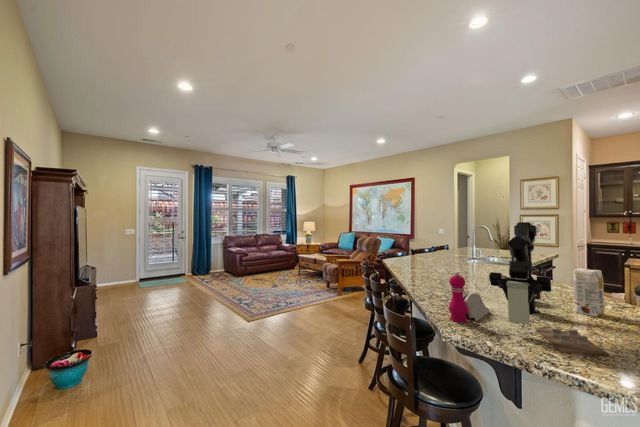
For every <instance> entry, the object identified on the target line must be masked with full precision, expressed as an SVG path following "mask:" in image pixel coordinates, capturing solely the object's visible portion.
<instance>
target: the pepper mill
mask: <svg viewBox="0 0 640 427" xmlns="http://www.w3.org/2000/svg"><path fill="white" fill-rule="evenodd" d="M448 281H449V282H448V283H449V285H450V291H451V294H452V295H451V300H450V302H449V304H448V311H449V312H450V314H449V317H450V320H451V321H453V322H456V323H466V322H467V321H468V318H467V316H465V315H466V314H467V313H468V308H467V305H466V303H465V301H464V298H463V296H464V292H465V287H464V286H465V285H466V281H465V278H464V277H463V276H461V275H460V272H458V271H455V272H454V275H452V276H451V277H450V278H449V280H448Z"/></svg>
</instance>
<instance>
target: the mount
mask: <svg viewBox="0 0 640 427" xmlns="http://www.w3.org/2000/svg"><path fill="white" fill-rule="evenodd" d="M535 331H536V332H537V334H539V335H541V337H543V338H544V339H546V341H547V342H549V343H550V344H551V345H552V346H553V347H555V348H556V349H557V350H558V351H559V352H560V353H564V354H565V353H567V354H575V353H576V355H577V354H579V355H589V356H596V357H597V356H598V357H609V358H610V353H609V352H607V351H605V350H604V349H602V348H600V347H599V346H598V345H596V344H595V343H593V342H592V341H590V340H589V339H588V336H586V335H581V334H580V333H578V330H577V329H570V328H568V329H567V330H563V329H562V330H561V328H557V327H550V329H546V328H544V329H543V328H536V329H535Z"/></svg>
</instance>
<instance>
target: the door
mask: <svg viewBox="0 0 640 427" xmlns="http://www.w3.org/2000/svg"><path fill="white" fill-rule="evenodd" d="M507 290H508V300H507V312H508V315H507V316H508V322H512V323H518V324H524V325H530V323H531V322H530V321H531V320H530V314H529V303H528V296H529V292H528V283H525V282H515V281H508V282H507Z"/></svg>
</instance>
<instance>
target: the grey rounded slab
mask: <svg viewBox="0 0 640 427" xmlns="http://www.w3.org/2000/svg"><path fill="white" fill-rule="evenodd" d="M463 298H464V301H465V303H466V305H467V308H468V313H467V314H466V315H465V316H467V319H468V318H469V319H472V318H474V321H475V322H478V321H479V320H481V319H482V318H483V317H484V316H487V314H489V313H490V312H491V311H490V309H489V307H487V306H485V304H484V302H483V299H482V296H481V295H480V294H479V293H477V292H476V293H474V292H472V293H466V294H463Z"/></svg>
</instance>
